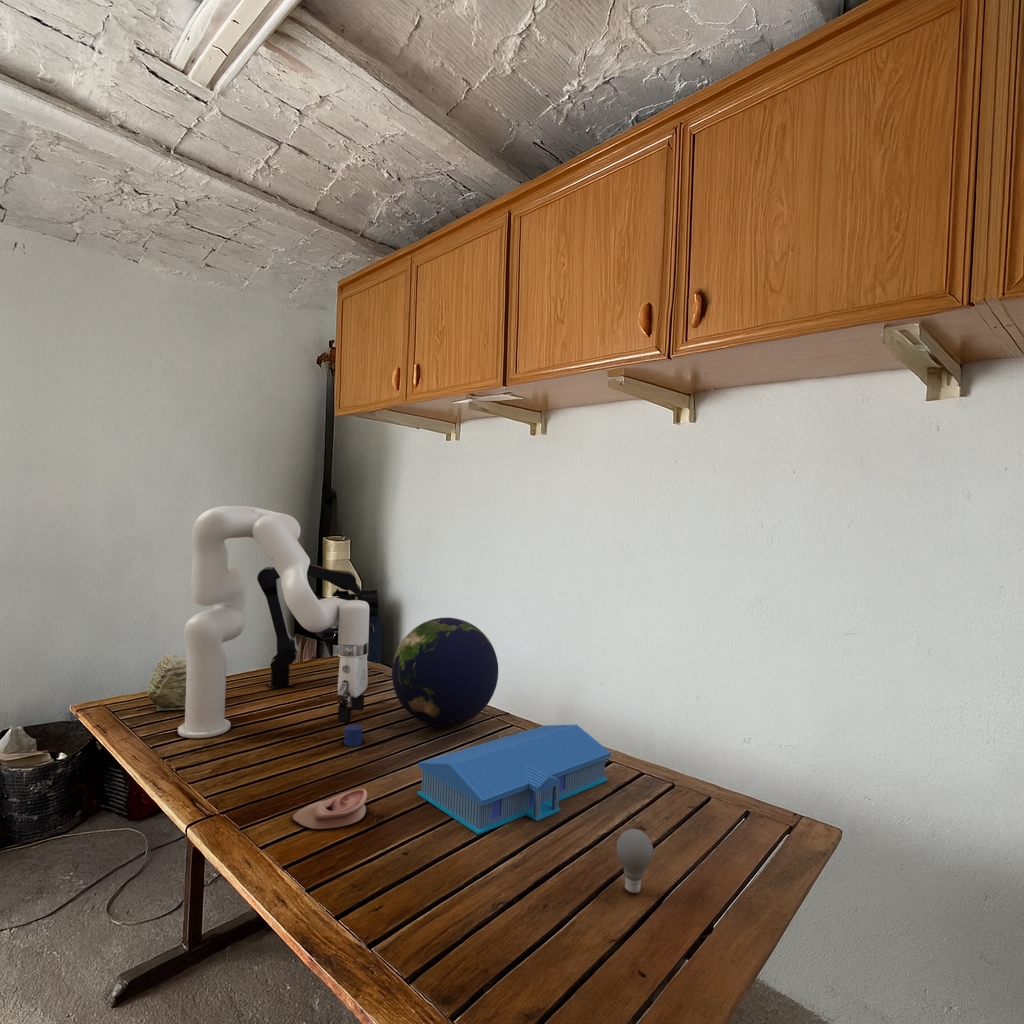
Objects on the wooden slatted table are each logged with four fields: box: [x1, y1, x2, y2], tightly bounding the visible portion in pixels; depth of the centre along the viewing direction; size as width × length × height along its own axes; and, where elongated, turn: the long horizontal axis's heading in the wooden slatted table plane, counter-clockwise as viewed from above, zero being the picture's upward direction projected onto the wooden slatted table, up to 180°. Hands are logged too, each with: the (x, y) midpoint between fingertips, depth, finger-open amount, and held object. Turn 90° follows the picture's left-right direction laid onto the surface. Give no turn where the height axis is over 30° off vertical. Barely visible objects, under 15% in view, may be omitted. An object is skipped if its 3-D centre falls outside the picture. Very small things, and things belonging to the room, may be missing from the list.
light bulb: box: [615, 828, 654, 894], centre depth 106 cm, size 6×6×10 cm
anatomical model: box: [292, 788, 368, 830], centre depth 126 cm, size 13×4×12 cm
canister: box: [343, 723, 364, 747], centre depth 163 cm, size 4×4×4 cm
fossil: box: [147, 654, 187, 712], centre depth 185 cm, size 9×18×15 cm, turn 132°
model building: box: [416, 724, 612, 835], centre depth 141 cm, size 39×24×10 cm, turn 132°
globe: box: [391, 616, 499, 728], centre depth 179 cm, size 30×30×30 cm
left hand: (351, 716), depth 162 cm, fingers open, 9 cm apart
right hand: (344, 655), depth 214 cm, fingers open, 9 cm apart
